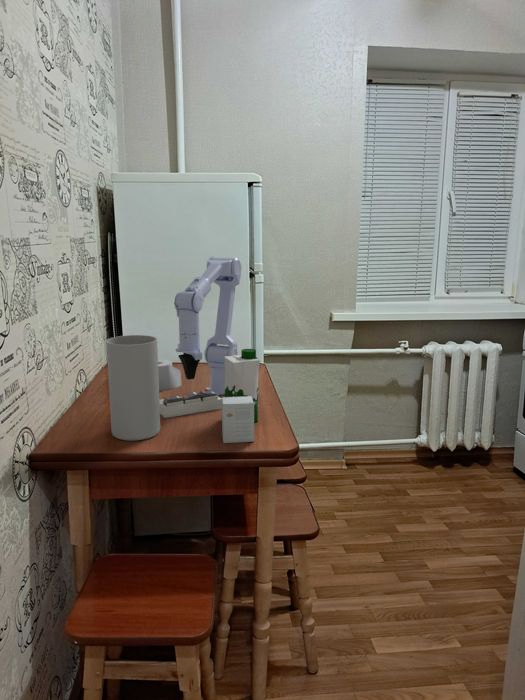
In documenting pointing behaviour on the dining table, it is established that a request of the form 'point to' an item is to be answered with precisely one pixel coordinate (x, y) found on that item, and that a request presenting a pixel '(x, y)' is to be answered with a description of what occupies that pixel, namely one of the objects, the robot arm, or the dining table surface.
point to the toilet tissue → (168, 375)
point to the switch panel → (189, 406)
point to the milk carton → (242, 376)
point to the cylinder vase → (133, 386)
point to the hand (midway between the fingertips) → (190, 378)
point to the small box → (237, 419)
